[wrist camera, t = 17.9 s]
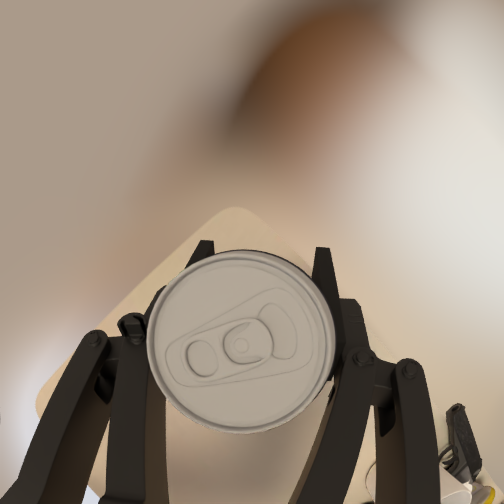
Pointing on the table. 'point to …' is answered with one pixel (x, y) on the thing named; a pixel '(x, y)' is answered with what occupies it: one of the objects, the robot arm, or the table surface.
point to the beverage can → (241, 341)
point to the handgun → (462, 447)
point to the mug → (452, 490)
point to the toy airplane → (482, 494)
